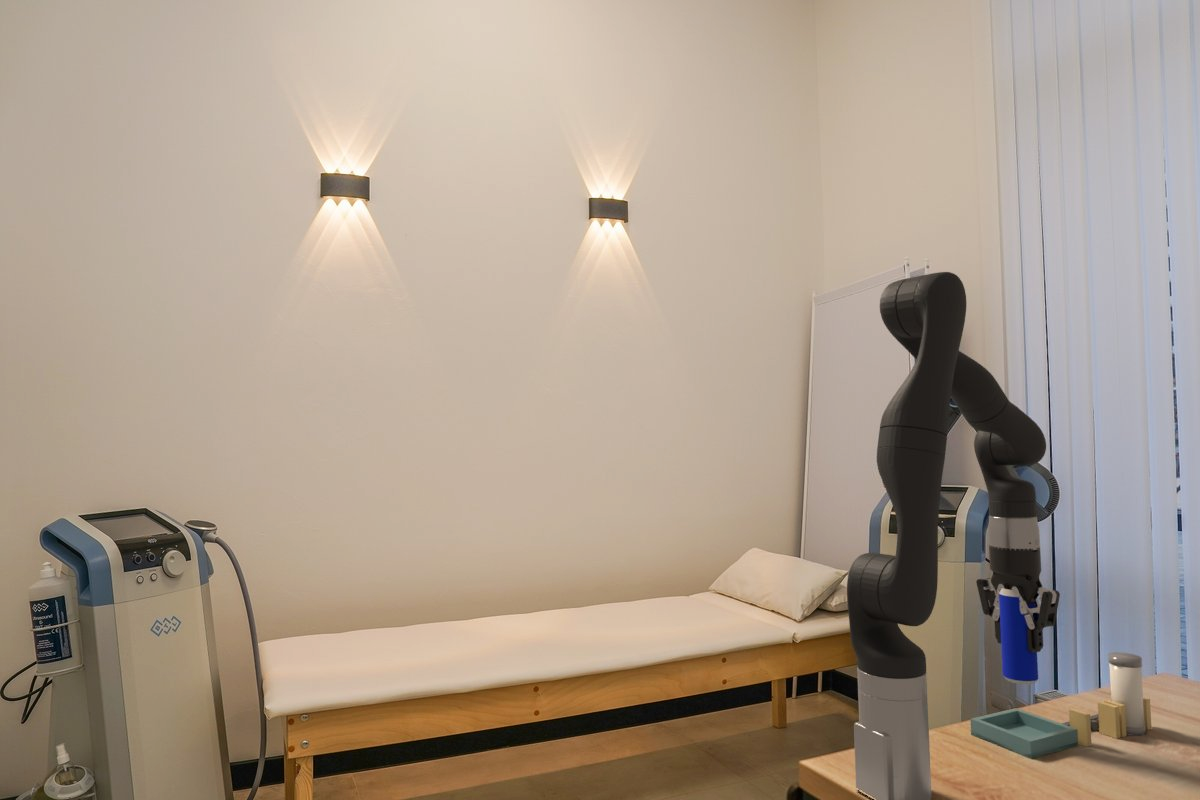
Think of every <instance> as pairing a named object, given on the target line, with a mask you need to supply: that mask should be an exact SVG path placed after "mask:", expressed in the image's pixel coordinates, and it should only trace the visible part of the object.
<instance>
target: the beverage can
mask: <svg viewBox="0 0 1200 800" xmlns="http://www.w3.org/2000/svg"><path fill="white" fill-rule="evenodd" d="M1019 602H1021V601H1019V597H1017V596H1016V595H1015V592H1014V591H1013V590H1009V589H1003V588H1002V589H1001V591H1000V593H999V607H1000V628H1001V644H1000V646H1001V665H1002V666H1001V667H1002V668H1001V669H1002V676H1003V677H1004V678H1005V680H1006V681H1008V682H1010V683H1013V684H1017V685H1018V684H1019V685H1034V684H1035V683H1037V681H1038V680H1039V669H1038V666H1039V664H1038V652H1036V653H1033V652H1029V651H1028V639H1027V629H1029V627H1028V625H1027V622H1026V619H1025V617H1024V615H1022V614H1021V612H1020V603H1019ZM1034 605H1035V604H1034V603H1033V604H1028V605H1027V606H1028V608H1030V609H1031V608H1034ZM1033 617H1034V614H1033Z"/></svg>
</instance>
